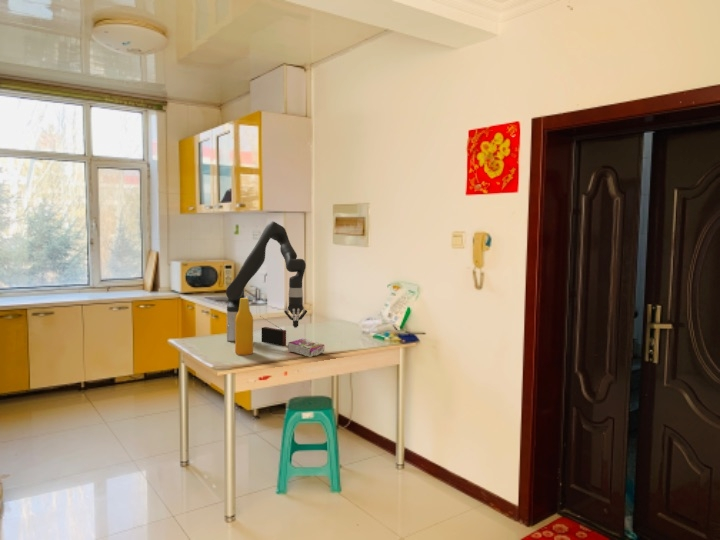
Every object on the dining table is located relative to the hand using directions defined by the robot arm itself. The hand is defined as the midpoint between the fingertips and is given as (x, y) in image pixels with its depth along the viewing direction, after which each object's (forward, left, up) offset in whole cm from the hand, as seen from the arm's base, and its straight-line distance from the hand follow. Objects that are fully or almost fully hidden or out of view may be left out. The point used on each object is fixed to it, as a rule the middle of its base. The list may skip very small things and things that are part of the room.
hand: (295, 327), depth 285 cm
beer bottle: (-27, -5, -12) cm, 30 cm away
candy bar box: (-1, -2, -9) cm, 9 cm away
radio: (-11, +17, -13) cm, 24 cm away
